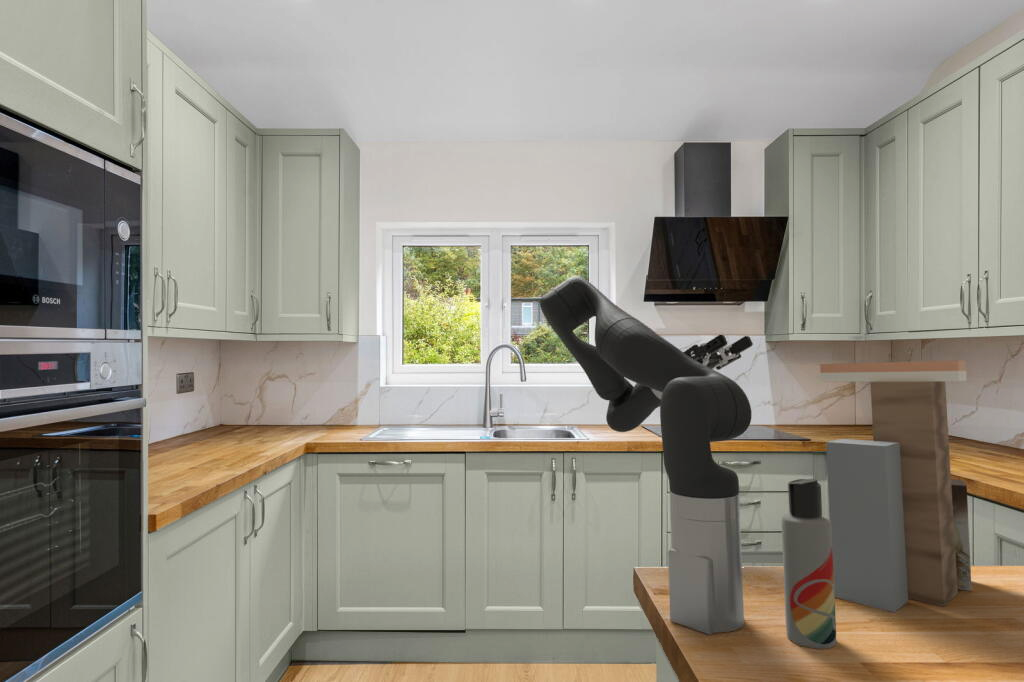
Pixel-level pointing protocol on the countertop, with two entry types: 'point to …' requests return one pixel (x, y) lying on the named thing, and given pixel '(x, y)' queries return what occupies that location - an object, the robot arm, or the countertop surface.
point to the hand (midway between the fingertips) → (737, 339)
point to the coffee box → (961, 534)
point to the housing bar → (894, 371)
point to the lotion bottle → (808, 568)
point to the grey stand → (867, 522)
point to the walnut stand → (921, 482)
